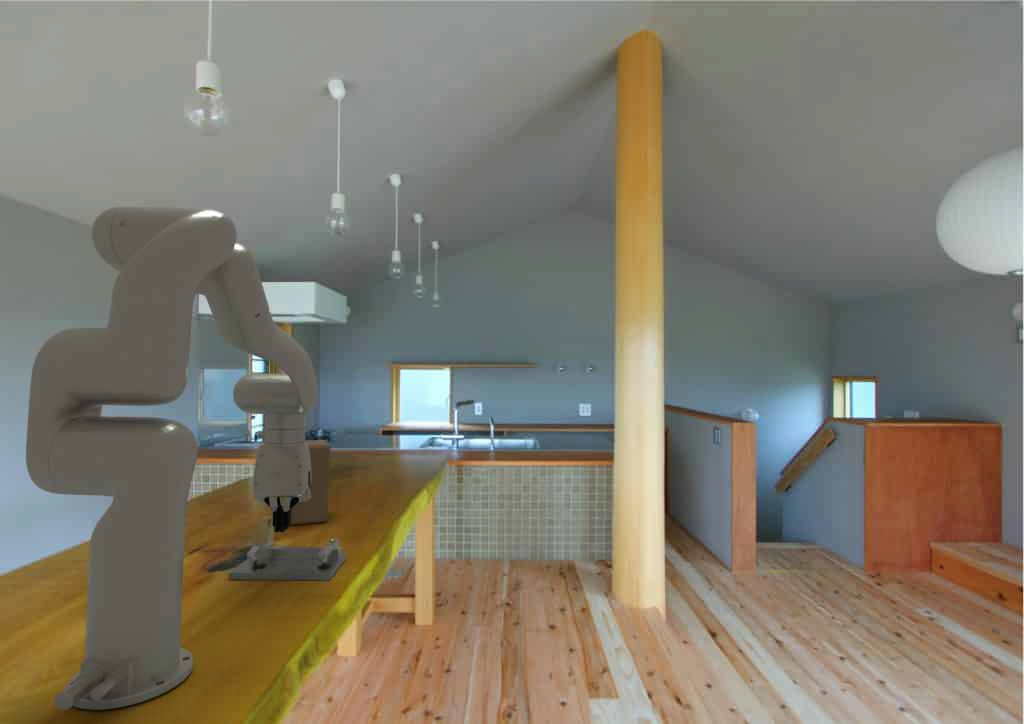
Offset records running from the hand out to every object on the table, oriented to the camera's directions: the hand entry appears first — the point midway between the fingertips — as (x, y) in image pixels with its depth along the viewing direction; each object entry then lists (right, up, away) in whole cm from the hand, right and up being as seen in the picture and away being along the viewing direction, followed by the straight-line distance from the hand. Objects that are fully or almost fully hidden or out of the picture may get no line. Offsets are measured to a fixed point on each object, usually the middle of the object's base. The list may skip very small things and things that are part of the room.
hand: (281, 530), depth 107 cm
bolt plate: (+3, -7, -3) cm, 8 cm away
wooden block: (-8, -8, +33) cm, 35 cm away
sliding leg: (-3, -5, -3) cm, 6 cm away
